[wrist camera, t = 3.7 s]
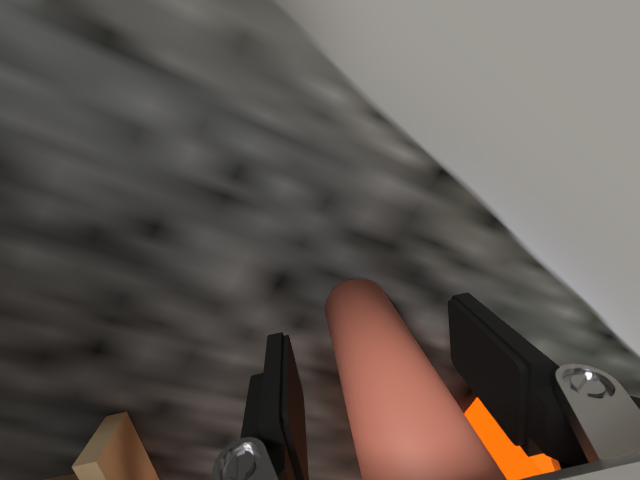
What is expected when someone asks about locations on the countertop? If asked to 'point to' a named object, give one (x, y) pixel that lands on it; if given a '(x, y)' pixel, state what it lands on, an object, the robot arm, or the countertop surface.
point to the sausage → (398, 395)
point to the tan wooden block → (64, 477)
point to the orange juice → (505, 446)
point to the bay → (114, 453)
